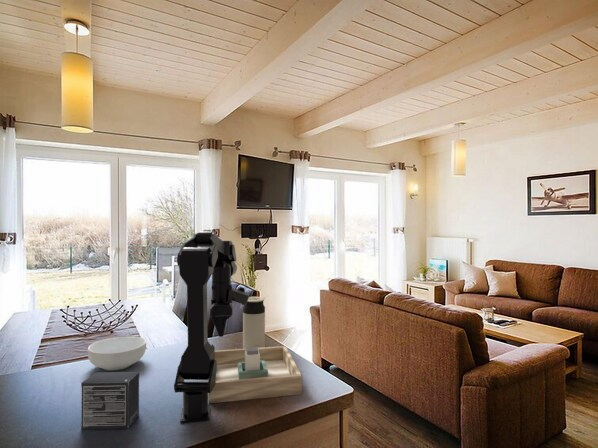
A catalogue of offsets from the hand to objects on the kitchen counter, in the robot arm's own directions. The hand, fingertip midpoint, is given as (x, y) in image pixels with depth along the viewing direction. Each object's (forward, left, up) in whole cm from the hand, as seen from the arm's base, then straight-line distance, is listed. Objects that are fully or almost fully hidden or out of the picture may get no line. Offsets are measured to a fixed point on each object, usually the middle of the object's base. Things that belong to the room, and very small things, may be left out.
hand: (221, 332), depth 112 cm
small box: (-24, +25, -12) cm, 37 cm away
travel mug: (+19, -12, -12) cm, 26 cm away
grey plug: (-8, -9, -11) cm, 16 cm away
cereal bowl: (+11, +32, -12) cm, 36 cm away
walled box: (-8, -9, -12) cm, 17 cm away
